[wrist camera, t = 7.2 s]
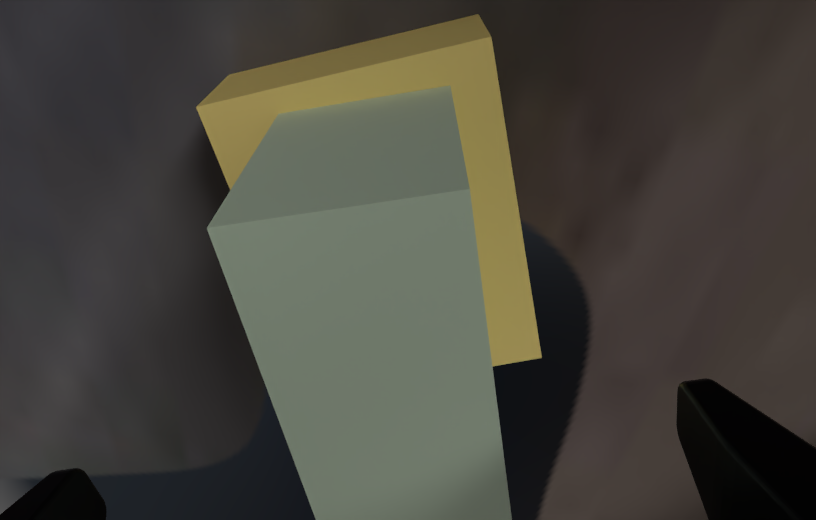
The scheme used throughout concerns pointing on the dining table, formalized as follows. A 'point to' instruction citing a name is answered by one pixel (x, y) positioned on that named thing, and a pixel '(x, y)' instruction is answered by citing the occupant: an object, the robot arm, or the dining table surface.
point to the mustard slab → (394, 74)
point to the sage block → (370, 308)
